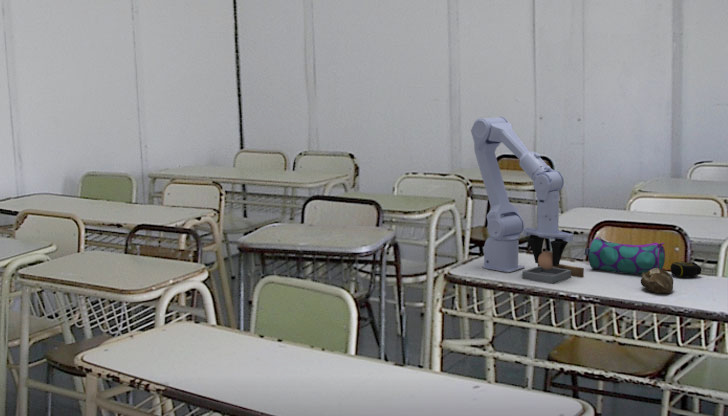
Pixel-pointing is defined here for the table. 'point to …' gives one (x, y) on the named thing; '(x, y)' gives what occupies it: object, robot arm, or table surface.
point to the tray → (546, 274)
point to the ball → (546, 260)
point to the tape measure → (685, 269)
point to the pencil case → (625, 256)
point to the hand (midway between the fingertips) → (547, 264)
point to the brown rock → (657, 281)
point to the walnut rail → (572, 270)
